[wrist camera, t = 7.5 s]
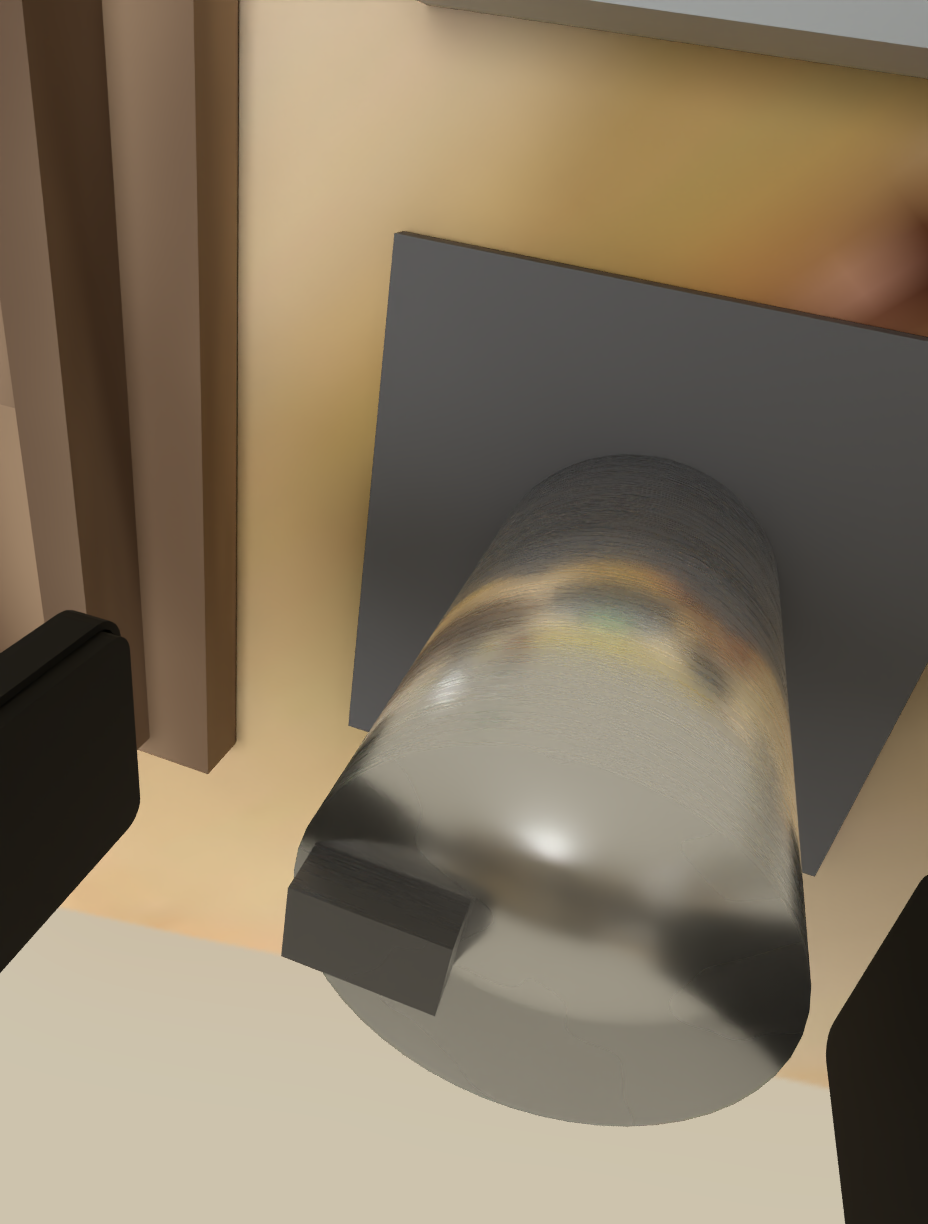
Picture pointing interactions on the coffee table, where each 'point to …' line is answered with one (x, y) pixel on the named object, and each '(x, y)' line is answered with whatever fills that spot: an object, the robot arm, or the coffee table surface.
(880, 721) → the mat
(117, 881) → the coffee table surface
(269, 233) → the coffee table surface
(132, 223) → the brown cruet tray
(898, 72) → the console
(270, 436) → the coffee table surface
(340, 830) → the silver rounded cylinder
